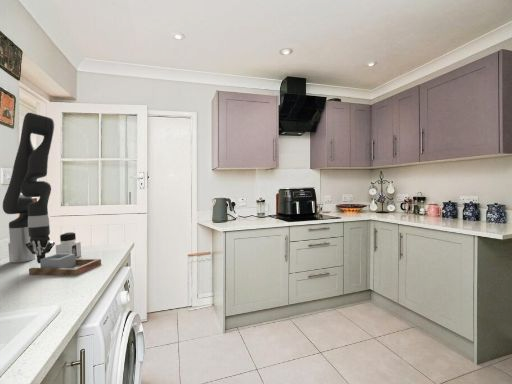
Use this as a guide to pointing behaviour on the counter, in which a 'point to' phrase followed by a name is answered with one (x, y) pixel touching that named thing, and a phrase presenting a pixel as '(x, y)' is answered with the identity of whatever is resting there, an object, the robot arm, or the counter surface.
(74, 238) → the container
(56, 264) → the box
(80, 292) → the counter surface
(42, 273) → the bay
